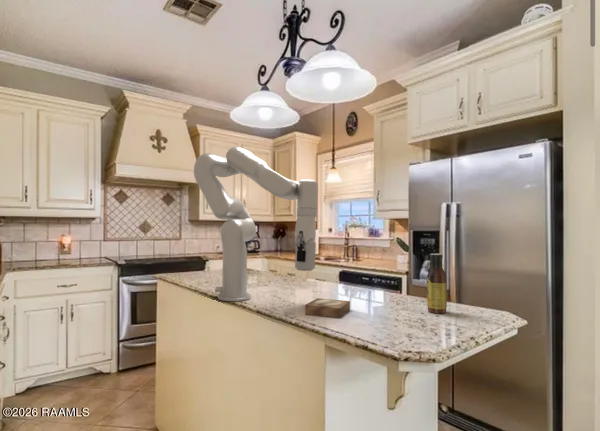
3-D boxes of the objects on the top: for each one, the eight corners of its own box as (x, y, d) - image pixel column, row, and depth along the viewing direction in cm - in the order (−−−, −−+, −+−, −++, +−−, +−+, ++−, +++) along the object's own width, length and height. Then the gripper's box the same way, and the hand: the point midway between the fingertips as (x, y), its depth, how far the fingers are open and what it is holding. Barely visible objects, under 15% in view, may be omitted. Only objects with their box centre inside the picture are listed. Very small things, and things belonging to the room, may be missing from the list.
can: (313, 271, 133) (314, 238, 133) (292, 270, 134) (294, 237, 134) (316, 269, 140) (317, 237, 140) (297, 267, 142) (298, 236, 142)
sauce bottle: (432, 308, 130) (432, 252, 131) (449, 312, 126) (449, 253, 126) (423, 312, 126) (423, 253, 126) (441, 315, 121) (441, 254, 122)
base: (305, 314, 122) (305, 304, 122) (317, 306, 133) (317, 297, 133) (340, 317, 117) (340, 307, 117) (349, 309, 128) (349, 300, 128)
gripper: (306, 213, 147) (304, 258, 147) (288, 212, 131) (286, 262, 131) (323, 214, 144) (322, 259, 144) (307, 212, 128) (305, 263, 128)
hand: (305, 260), depth 137 cm, fingers closed on can, 7 cm apart
